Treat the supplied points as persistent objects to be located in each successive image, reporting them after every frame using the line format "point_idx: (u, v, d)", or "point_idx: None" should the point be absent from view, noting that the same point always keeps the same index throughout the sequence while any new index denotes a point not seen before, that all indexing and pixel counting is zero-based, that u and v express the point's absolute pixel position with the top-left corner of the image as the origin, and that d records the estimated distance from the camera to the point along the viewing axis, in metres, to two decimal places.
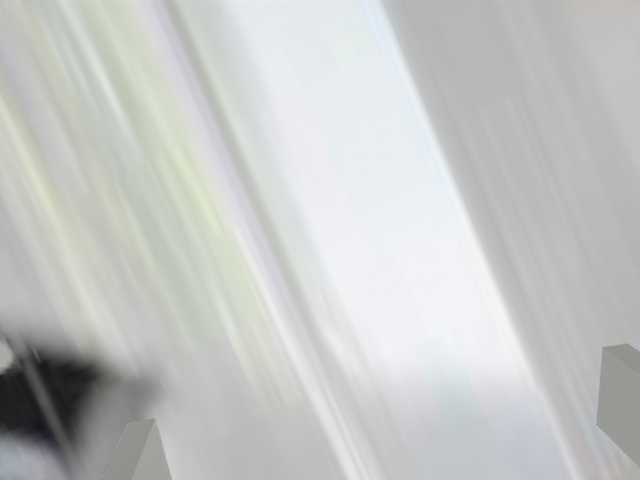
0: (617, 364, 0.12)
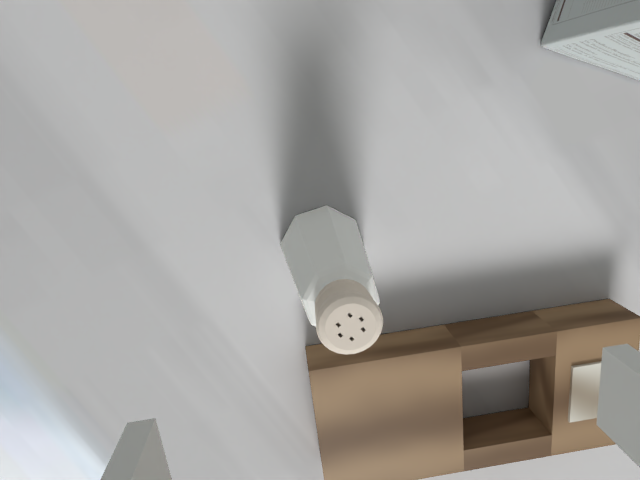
0: (617, 364, 0.12)
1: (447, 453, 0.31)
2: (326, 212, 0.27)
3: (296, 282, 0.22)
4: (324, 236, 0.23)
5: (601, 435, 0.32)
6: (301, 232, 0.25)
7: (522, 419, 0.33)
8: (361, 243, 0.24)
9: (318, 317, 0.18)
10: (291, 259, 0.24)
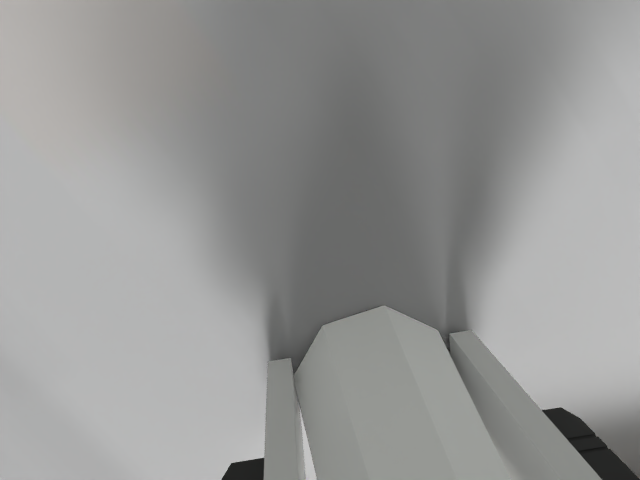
0: (456, 348, 0.14)
1: None
2: (387, 327, 0.13)
3: None
4: (401, 420, 0.10)
5: None
6: (342, 388, 0.11)
7: None
8: (481, 426, 0.11)
9: None
10: (321, 454, 0.11)
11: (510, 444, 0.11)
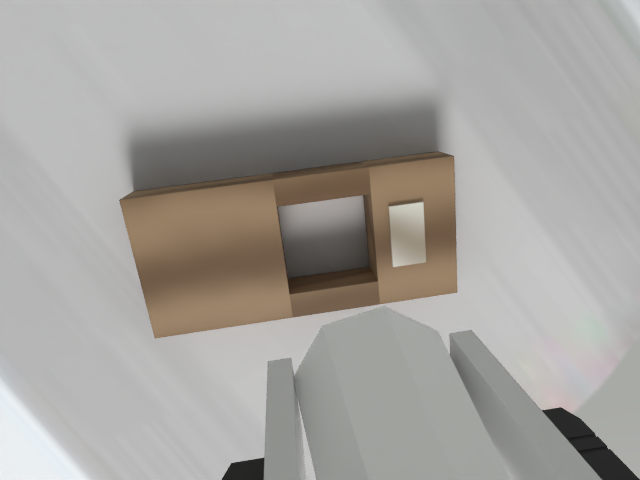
0: (456, 348, 0.14)
1: (273, 296, 0.31)
2: (387, 328, 0.13)
3: None
4: (401, 421, 0.10)
5: (429, 284, 0.32)
6: (342, 389, 0.11)
7: (358, 274, 0.34)
8: (481, 427, 0.11)
9: None
10: (321, 456, 0.11)
11: (510, 444, 0.11)
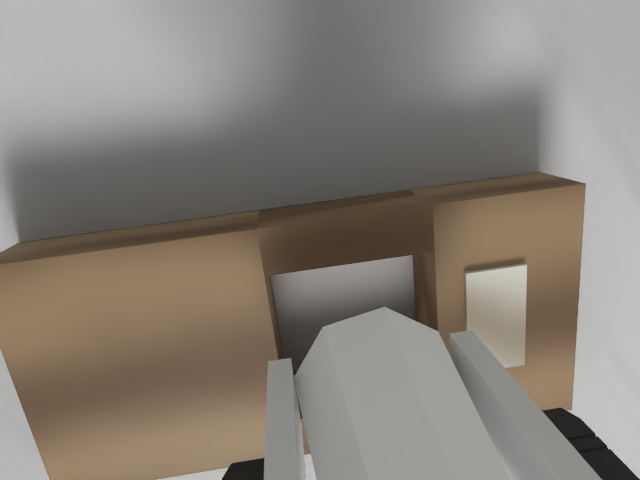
0: (456, 348, 0.14)
1: (260, 424, 0.18)
2: (388, 329, 0.13)
3: None
4: (402, 422, 0.10)
5: None
6: (342, 390, 0.11)
7: None
8: (482, 428, 0.11)
9: None
10: (321, 456, 0.11)
11: (510, 444, 0.11)
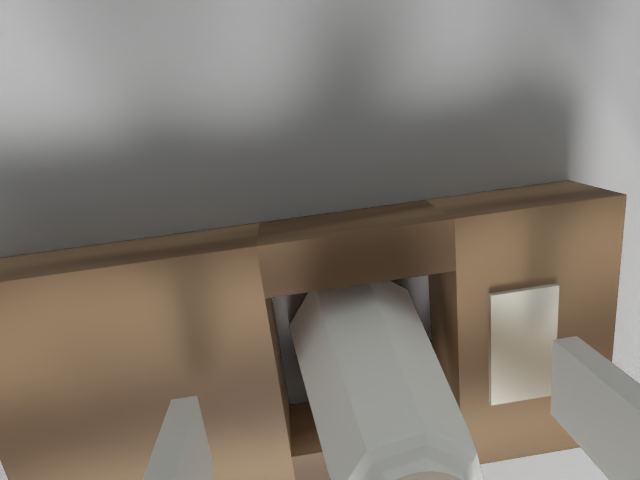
0: (565, 356, 0.13)
1: (260, 461, 0.16)
2: None
3: (322, 439, 0.12)
4: (369, 342, 0.13)
5: (554, 430, 0.17)
6: (326, 324, 0.15)
7: None
8: (431, 350, 0.14)
9: None
10: (309, 373, 0.14)
11: None
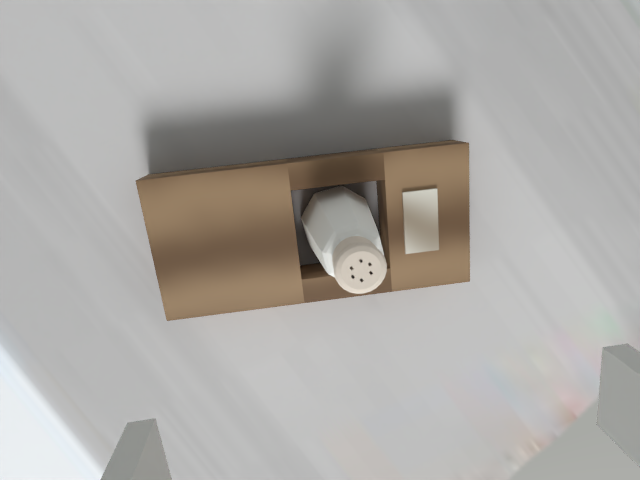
0: (617, 365, 0.12)
1: (285, 281, 0.31)
2: (341, 190, 0.32)
3: (316, 241, 0.27)
4: (340, 207, 0.28)
5: (441, 272, 0.32)
6: (320, 204, 0.30)
7: None
8: (370, 214, 0.29)
9: (336, 262, 0.23)
10: (311, 226, 0.29)
11: None
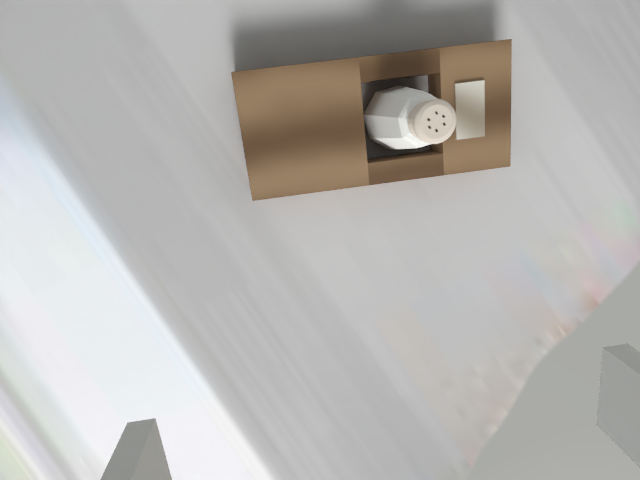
0: (617, 364, 0.12)
1: (354, 164, 0.37)
2: (400, 86, 0.37)
3: (389, 115, 0.32)
4: (405, 91, 0.34)
5: (486, 157, 0.37)
6: (385, 94, 0.35)
7: (423, 153, 0.39)
8: None
9: (416, 114, 0.28)
10: (379, 111, 0.35)
11: None
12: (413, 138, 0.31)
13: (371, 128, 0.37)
